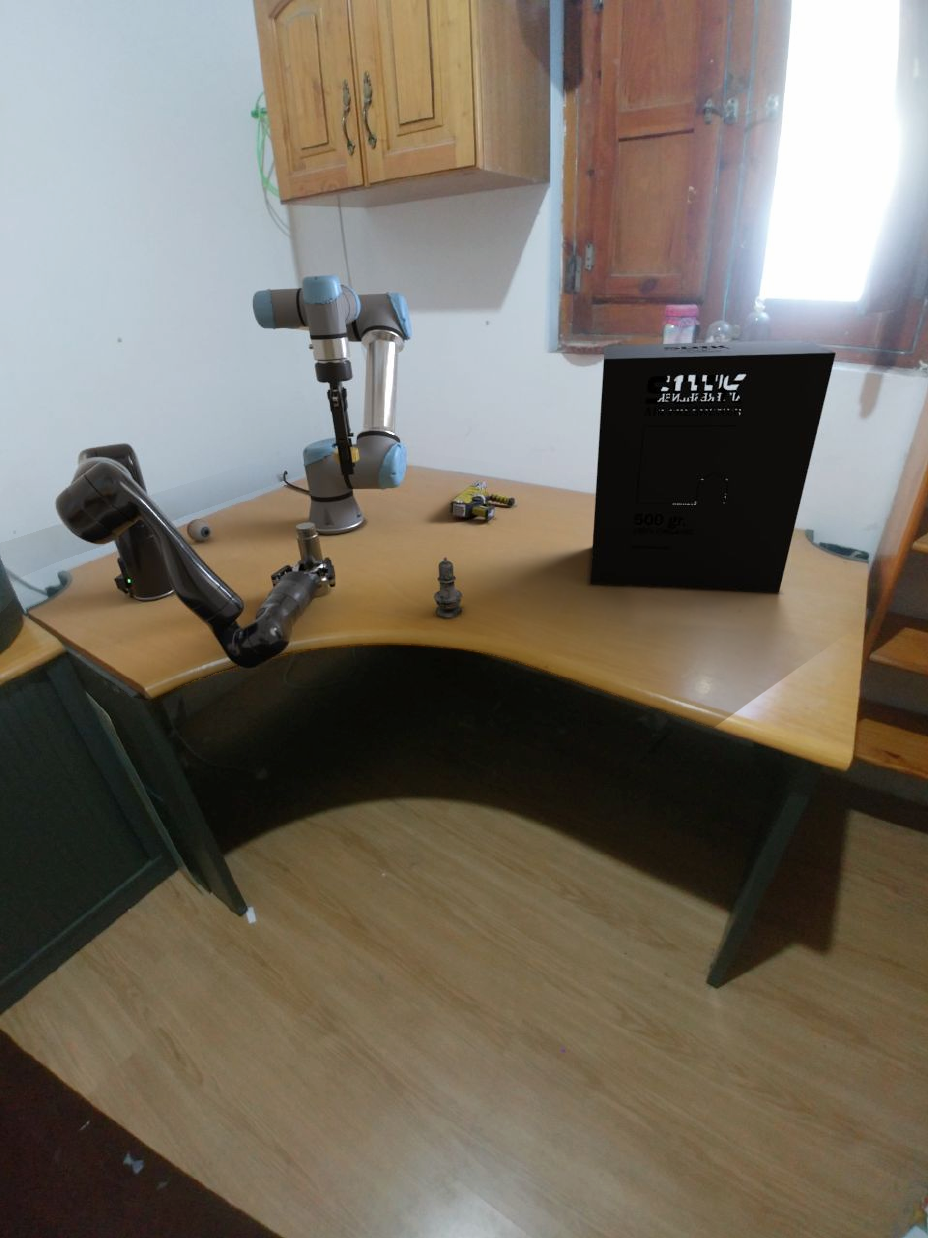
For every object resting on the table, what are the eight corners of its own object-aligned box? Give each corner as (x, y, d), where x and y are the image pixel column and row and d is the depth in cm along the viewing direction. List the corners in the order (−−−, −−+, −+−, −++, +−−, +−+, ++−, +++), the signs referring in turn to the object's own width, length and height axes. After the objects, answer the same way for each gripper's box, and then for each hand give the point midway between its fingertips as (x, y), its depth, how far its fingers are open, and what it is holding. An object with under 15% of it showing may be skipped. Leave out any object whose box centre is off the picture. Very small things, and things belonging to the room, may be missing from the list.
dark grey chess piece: (460, 618, 120) (456, 564, 114) (431, 617, 121) (426, 562, 115) (465, 604, 125) (462, 551, 119) (438, 603, 126) (434, 550, 120)
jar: (308, 597, 132) (294, 530, 124) (308, 589, 136) (294, 523, 128) (328, 594, 132) (316, 528, 125) (328, 586, 136) (316, 520, 128)
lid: (350, 455, 139) (349, 445, 138) (364, 459, 136) (362, 449, 135) (330, 461, 136) (328, 450, 135) (343, 464, 133) (342, 454, 131)
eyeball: (200, 546, 160) (194, 525, 157) (185, 542, 163) (179, 521, 160) (219, 538, 165) (213, 517, 162) (204, 535, 168) (198, 514, 165)
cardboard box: (758, 552, 140) (802, 339, 117) (778, 592, 123) (835, 352, 100) (592, 546, 147) (604, 345, 125) (590, 583, 130) (603, 358, 108)
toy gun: (523, 485, 181) (476, 478, 185) (501, 509, 161) (448, 500, 165) (521, 500, 184) (475, 493, 187) (499, 525, 163) (447, 517, 167)
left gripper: (322, 580, 116) (346, 545, 131) (251, 580, 117) (282, 545, 132) (328, 614, 120) (351, 576, 134) (260, 614, 121) (289, 576, 136)
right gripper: (318, 356, 133) (334, 461, 145) (309, 367, 117) (329, 483, 129) (352, 354, 134) (366, 458, 145) (348, 364, 118) (364, 480, 129)
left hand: (317, 561), depth 133 cm, fingers closed on jar, 4 cm apart
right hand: (348, 470), depth 137 cm, fingers closed on lid, 5 cm apart
